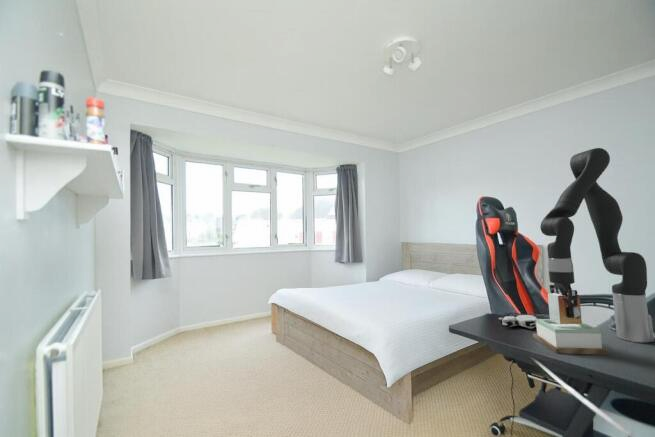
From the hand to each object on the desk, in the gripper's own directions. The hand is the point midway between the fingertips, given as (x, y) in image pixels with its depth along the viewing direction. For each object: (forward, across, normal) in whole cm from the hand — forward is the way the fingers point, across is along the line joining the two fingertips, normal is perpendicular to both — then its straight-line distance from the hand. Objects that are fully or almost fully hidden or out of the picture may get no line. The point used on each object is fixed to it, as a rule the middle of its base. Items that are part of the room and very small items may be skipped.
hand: (565, 315), depth 113 cm
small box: (+3, 0, 0) cm, 3 cm away
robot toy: (+11, +24, +7) cm, 28 cm away
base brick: (+9, 0, 0) cm, 9 cm away
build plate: (+11, 0, 0) cm, 11 cm away
